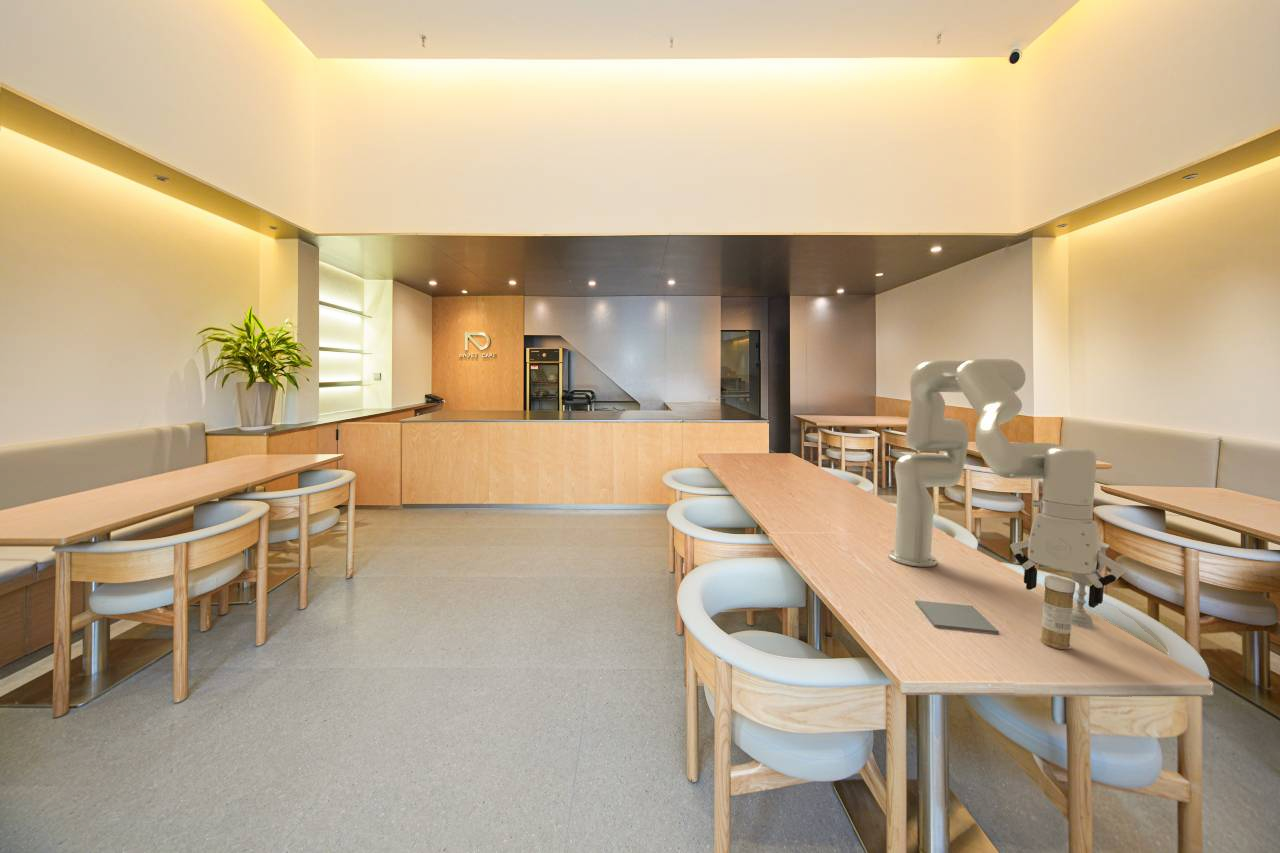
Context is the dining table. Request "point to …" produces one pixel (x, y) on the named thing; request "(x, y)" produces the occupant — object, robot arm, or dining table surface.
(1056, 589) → the sprinkles bottle
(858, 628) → the dining table surface
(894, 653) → the dining table surface
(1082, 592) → the chalice
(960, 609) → the slate mat
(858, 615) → the dining table surface
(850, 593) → the dining table surface
